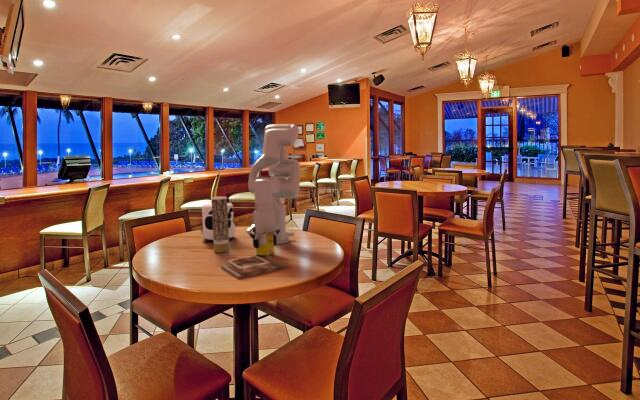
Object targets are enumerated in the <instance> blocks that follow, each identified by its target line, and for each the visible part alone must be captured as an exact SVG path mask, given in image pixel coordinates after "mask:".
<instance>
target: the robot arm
mask: <svg viewBox="0 0 640 400" xmlns="http://www.w3.org/2000/svg"><path fill="white" fill-rule="evenodd" d="M299 135H300V132H299V127H298V126H297V125H296V124H295V123H274V124H268V125H266V126H265V128H264V136H263V143H262V152H261V157H259V158H258V159H257V160H256V161H255V163H254V164H253V165H252V166H251V168H250V171H249V174H248V184H247V185H248V186H247V187H248V191H249V192H250V193H251V194H254V209H255V210H253V212H252V219H251V226H250V227H248V228H247V230H246V233H247V234H248V236H249V237H250V238H251V239H252V246H253V248H255V249H256V248H258V239H257V238H258V236H259V234H262V233H263V232H269V231H271V232H273V235H274V246H276V245H282V244H283V245H285V244H288V243H289V242H290V238H289V237H294V236H295V232H294V231H292V232H290V231H289V232H288V231H286V229H287V228H286V206H285V204H284V202H283V201H282V200H281V199H296V198H298V196H299V194H300V184H301V183H300V182H301V181H300V180H301V164H300V162H299V160H298V159H294V158H287V150H286V148H285V147H292V146H294V145H295V144H296V142H297V140H298V138H299ZM266 168H268V175H269V176H258V175H259V173H260V172H261V171H263V170H265V169H266Z"/></svg>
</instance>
